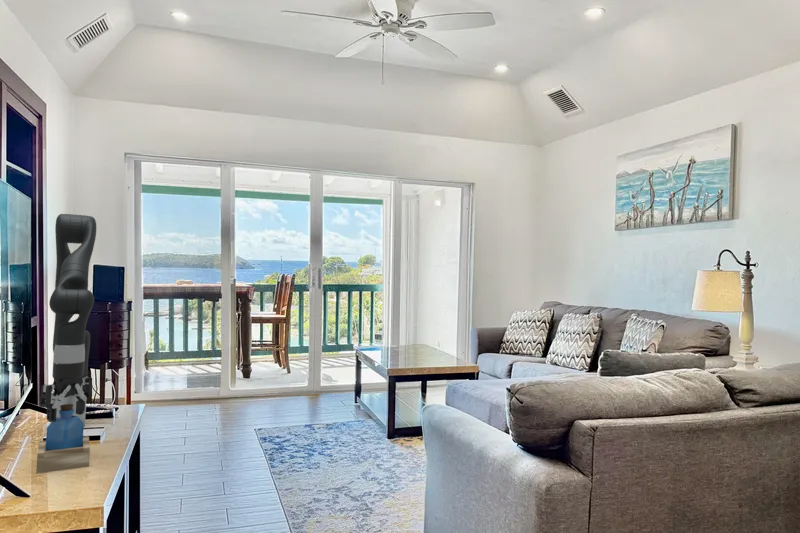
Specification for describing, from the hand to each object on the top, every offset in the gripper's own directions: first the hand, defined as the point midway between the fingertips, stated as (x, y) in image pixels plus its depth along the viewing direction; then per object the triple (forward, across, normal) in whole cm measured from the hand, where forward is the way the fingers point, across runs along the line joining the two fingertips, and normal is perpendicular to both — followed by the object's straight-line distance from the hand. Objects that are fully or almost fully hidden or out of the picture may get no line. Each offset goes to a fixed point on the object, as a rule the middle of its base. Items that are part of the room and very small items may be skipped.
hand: (66, 417), depth 147 cm
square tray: (+12, 0, 0) cm, 13 cm away
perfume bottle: (+9, 0, 0) cm, 9 cm away
